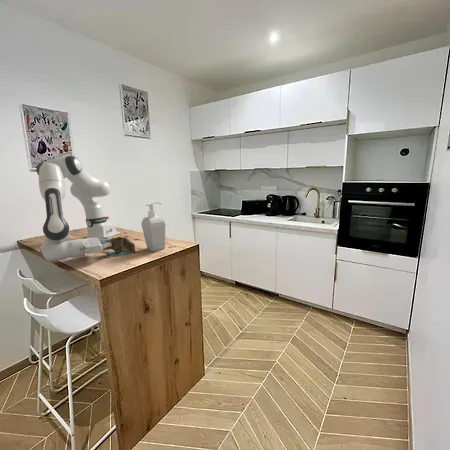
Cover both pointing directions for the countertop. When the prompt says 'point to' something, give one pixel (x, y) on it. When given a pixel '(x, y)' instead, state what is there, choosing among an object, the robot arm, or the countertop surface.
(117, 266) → the countertop surface
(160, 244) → the soap bottle
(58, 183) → the robot arm
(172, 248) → the countertop surface
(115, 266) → the countertop surface
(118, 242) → the cup
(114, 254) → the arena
